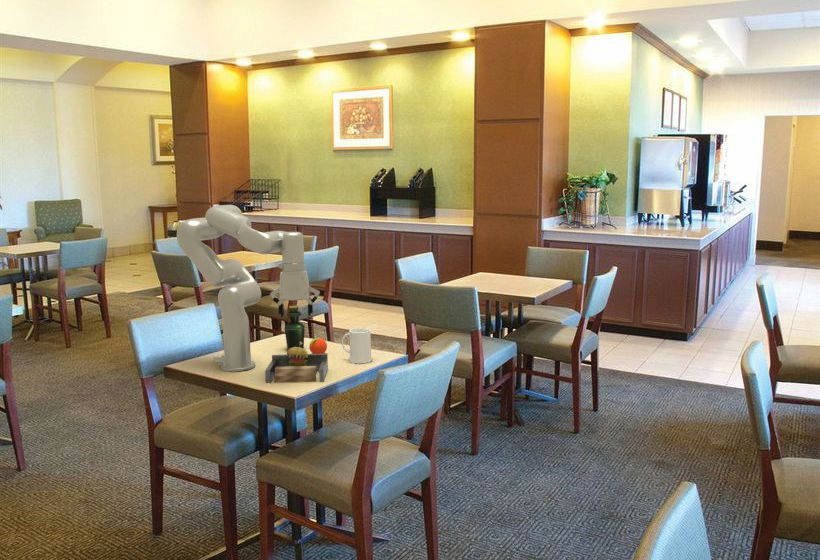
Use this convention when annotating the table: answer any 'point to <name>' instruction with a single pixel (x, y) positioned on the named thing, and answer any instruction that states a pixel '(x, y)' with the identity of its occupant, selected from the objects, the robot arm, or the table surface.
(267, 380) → the frame
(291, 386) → the table surface
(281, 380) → the light brown long block
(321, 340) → the clementine
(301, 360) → the burger with flag pick
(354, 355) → the mug
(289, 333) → the potion bottle
